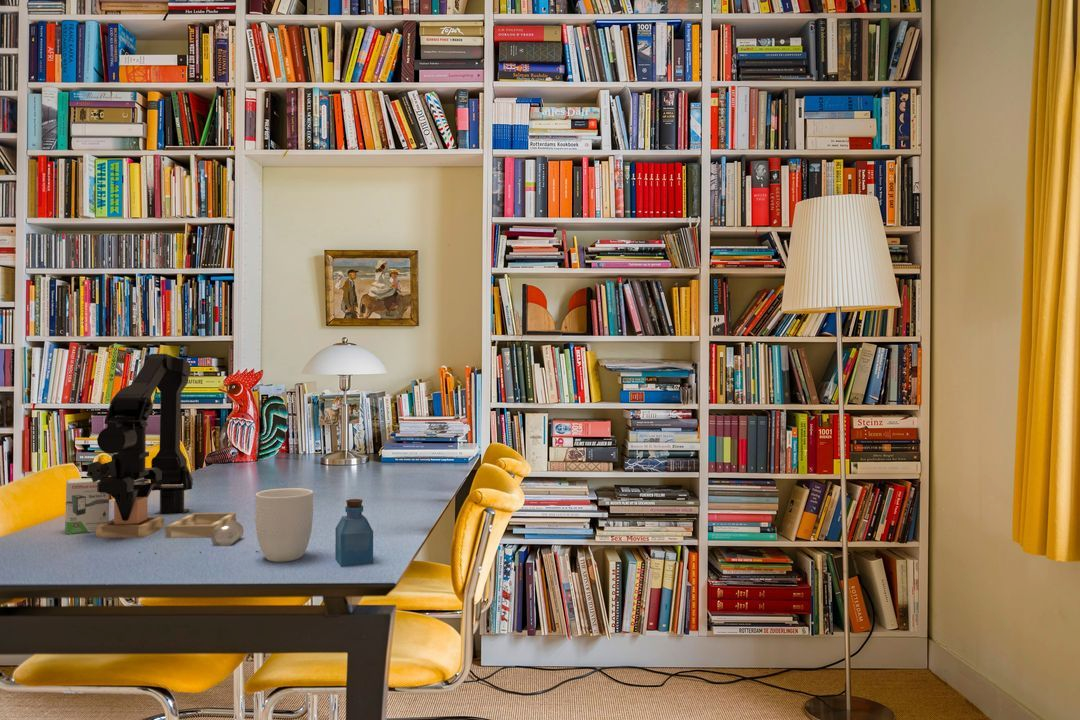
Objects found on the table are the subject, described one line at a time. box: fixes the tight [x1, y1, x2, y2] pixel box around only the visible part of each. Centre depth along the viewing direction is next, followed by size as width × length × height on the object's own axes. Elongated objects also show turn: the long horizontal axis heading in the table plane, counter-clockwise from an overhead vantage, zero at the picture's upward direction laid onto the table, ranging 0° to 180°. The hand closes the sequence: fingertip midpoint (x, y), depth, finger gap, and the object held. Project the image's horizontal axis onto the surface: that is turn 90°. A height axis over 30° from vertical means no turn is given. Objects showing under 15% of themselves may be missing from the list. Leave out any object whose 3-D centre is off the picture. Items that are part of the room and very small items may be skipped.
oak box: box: [95, 516, 165, 539], centre depth 176 cm, size 10×10×3 cm
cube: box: [113, 496, 149, 524], centre depth 177 cm, size 5×5×5 cm
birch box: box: [164, 512, 237, 539], centre depth 179 cm, size 15×10×3 cm
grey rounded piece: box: [211, 520, 245, 547], centre depth 168 cm, size 7×4×4 cm
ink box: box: [64, 477, 110, 535], centre depth 181 cm, size 9×5×12 cm, turn 123°
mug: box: [254, 487, 314, 563], centre depth 158 cm, size 15×11×13 cm
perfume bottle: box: [334, 498, 374, 567], centre depth 155 cm, size 6×6×12 cm
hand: (130, 518), depth 177 cm, fingers closed on cube, 5 cm apart
